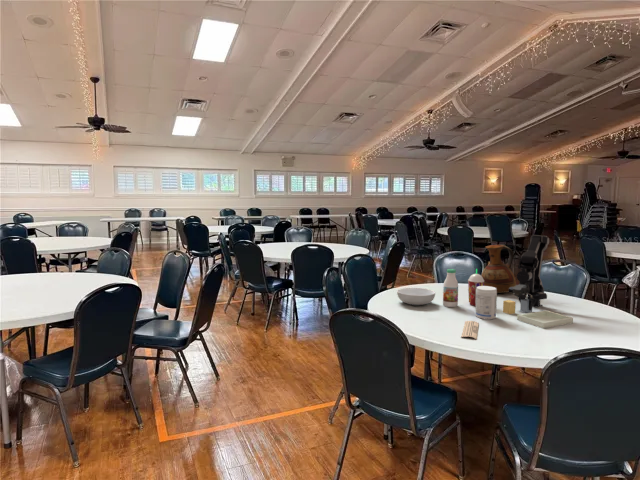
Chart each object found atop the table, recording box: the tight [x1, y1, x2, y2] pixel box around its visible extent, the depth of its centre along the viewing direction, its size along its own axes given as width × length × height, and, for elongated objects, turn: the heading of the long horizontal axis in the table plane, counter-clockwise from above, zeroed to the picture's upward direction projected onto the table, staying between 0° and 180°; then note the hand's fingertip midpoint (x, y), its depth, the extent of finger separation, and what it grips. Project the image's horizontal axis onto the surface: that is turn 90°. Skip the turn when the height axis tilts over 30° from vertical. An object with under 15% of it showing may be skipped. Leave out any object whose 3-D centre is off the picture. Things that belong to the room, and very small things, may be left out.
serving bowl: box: [396, 287, 436, 306], centre depth 228 cm, size 21×21×7 cm
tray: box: [516, 310, 574, 329], centre depth 194 cm, size 20×14×2 cm
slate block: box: [519, 298, 534, 314], centre depth 211 cm, size 4×4×6 cm
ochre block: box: [502, 299, 516, 315], centre depth 209 cm, size 4×4×6 cm
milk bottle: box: [442, 268, 459, 308], centre depth 222 cm, size 8×8×20 cm
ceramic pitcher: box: [480, 244, 517, 294], centre depth 254 cm, size 20×20×30 cm
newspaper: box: [460, 320, 479, 340], centre depth 180 cm, size 24×7×2 cm, turn 157°
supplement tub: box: [474, 286, 498, 320], centre depth 201 cm, size 10×10×15 cm
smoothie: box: [467, 268, 484, 307], centre depth 224 cm, size 8×8×20 cm
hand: (526, 309), depth 211 cm, fingers closed on slate block, 4 cm apart
